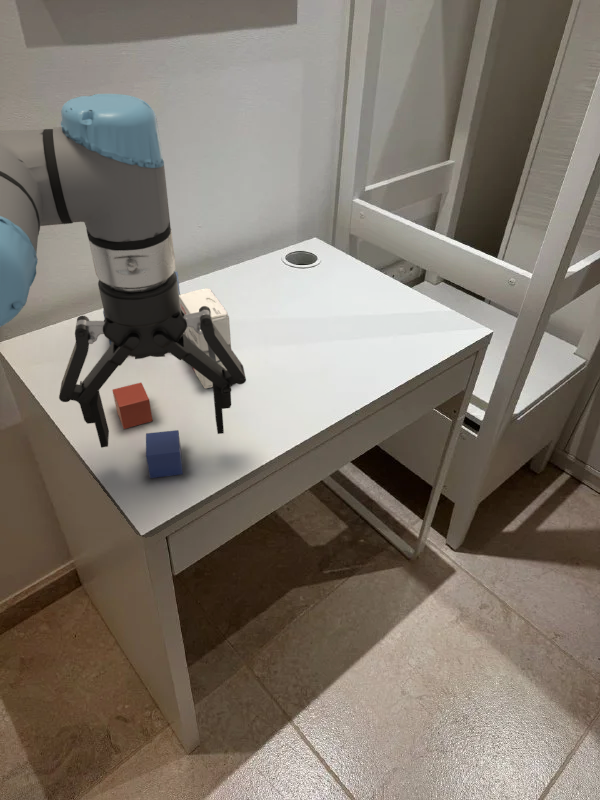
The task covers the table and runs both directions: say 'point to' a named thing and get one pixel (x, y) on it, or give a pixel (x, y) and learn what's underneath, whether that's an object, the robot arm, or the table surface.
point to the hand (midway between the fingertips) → (163, 432)
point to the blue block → (163, 454)
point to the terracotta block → (132, 405)
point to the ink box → (219, 317)
